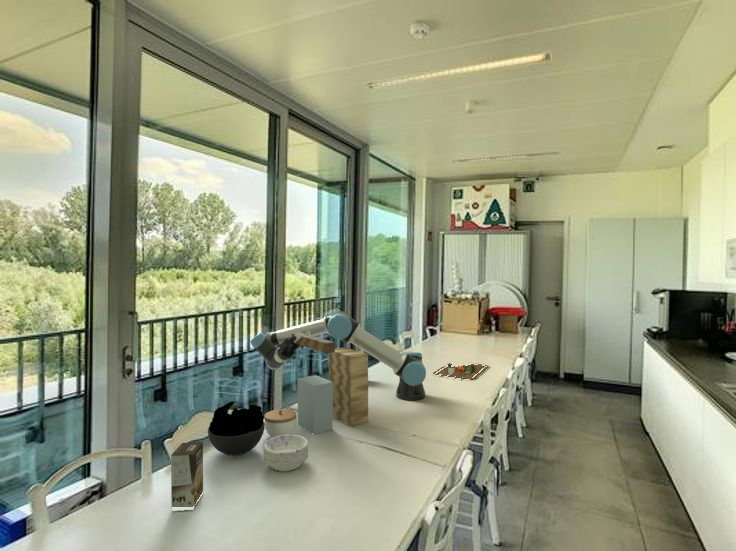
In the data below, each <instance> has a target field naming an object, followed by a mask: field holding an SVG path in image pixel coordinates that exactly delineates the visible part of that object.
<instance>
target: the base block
mask: <svg viewBox="0 0 736 551" xmlns="http://www.w3.org/2000/svg"><path fill="white" fill-rule="evenodd" d="M296 380H297V425H298V426H299V425H300V426H299V427H301V426H302V427H301V428H303V429H304V428H305V429H304V430H306V431H307V430H308V431H307V432H309V431H310V432H309V433H310V434H312V433H313V434H312V435H314V434H315V435H317V433H318V434H322V433H325V432H324V431H326V432H328V430H329V431H332V429H333V430H334V428H333V426H334V425H333V424H334V423H333V422H334V417H333V382H331V381H329V379H326V378H325V377H324V378H323V377H321V376H318V375H316V374H314V375H309V376H304V377H299V378H297V379H296ZM321 432H322V433H321Z"/></svg>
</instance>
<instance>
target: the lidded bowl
mask: <svg viewBox="0 0 736 551" xmlns="http://www.w3.org/2000/svg"><path fill="white" fill-rule="evenodd" d="M263 417H264V423H265V428H264V429H265V431H266V433H267V434H268V436H269V437H270V438H273V437H276V436H280V435H288V434H291V435H293V433H294V431H295V428H296V424H297V412H296V411H295V410H294V409H293V410H292V409H288V408H278V409H273V410H270V411H268V412H266V413H264V415H263Z"/></svg>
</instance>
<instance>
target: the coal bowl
mask: <svg viewBox="0 0 736 551" xmlns="http://www.w3.org/2000/svg"><path fill="white" fill-rule="evenodd" d="M235 403H237V401H229V402H227V403H225V404H224V405H222V406H220V407H217V408H216V410H214V412H213V417H212V418H211V422H210V423H209V426H208V428H207V435H208V438H209V441H210V444H211V445H212V446H213V447H214V448H215V450H217V451H218V452H220V453H221V454H222V455H225V456H226V455H227V456H234V457H235V456H240V455H244V454H247V453H248V452H250V451H251V450H253V449H254V448H256V446H257V445H258V444H259V443H260V441H261V439H262V437H263V435H264V433H265V432H264V431H265V429H266V428H265V419H264V415H263V412H262V409H263V408H262V407H261V406H259V405H256V404H250V405H249V408H246V407H245V408H243V407H241V408H239V409H238V408H234V409H233V410H232V411H231V413H229V410H230V409H231V408H232V406H233V405H234V404H235Z"/></svg>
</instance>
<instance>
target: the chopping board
mask: <svg viewBox="0 0 736 551" xmlns="http://www.w3.org/2000/svg"><path fill="white" fill-rule="evenodd" d="M448 363H449V362H448ZM448 363H447V364H448ZM477 364H478V365H474V364H471V365H468V366H465V365H463V366H461V367H460V366H458V367H455V366H454V367H451V365H452V364H450V363H449V364H448V367H446V368H444V367H445V366H444V365H443V366H444V367H443V366H441V367H440V368H438V369H436V370H437V371H439V370H440V369H442V368H444V369H443V370H441V371H440V372H438V373H437V374H435V373H436V372H437V371H436V370H435V371H433V372H432V373H433V374H435V375H439V374H442V375H441V376H447V375H449V376H448V377H455V376H456V377H455V379H456V378H461V380H460V381H462V379H470V380H469V381H474V380H473V379H475V380H476V379H478V378H479V377H480V376H481V375H482V374H483V373H485V372H486V371H487V370H488V369H489V368H490V366H489V365H487V364H484V365H485V366H487V367H485V366H482V364H483V363H477ZM484 367H485V368H484ZM488 367H489V368H488ZM482 368H484V369H483V370H482V371H481V372H480V373H478V372H479V371H480V370H481V369H482ZM487 368H488V369H487ZM486 369H487V370H486ZM485 370H486V371H485ZM484 371H485V372H484ZM482 372H483V373H482ZM477 373H478V374H477ZM481 373H482V374H481ZM475 374H477V375H476V376H475V377H474V378H472V377H473V376H474V375H475ZM480 374H481V375H480ZM479 375H480V376H479ZM478 376H479V377H478ZM448 377H447V378H448ZM462 377H463V378H462ZM477 377H478V378H477Z"/></svg>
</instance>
